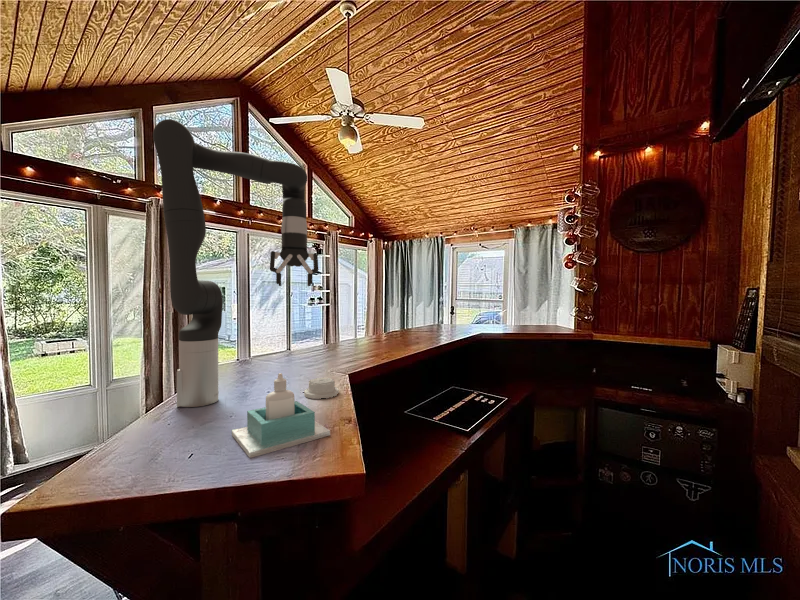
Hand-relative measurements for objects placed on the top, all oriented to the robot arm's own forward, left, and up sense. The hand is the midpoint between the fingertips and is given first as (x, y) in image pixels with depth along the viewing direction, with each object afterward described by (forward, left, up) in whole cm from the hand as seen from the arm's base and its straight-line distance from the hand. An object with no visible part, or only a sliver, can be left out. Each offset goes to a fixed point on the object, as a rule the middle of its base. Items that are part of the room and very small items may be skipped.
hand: (294, 286), depth 106 cm
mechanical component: (+7, -8, -33) cm, 34 cm away
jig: (-4, -35, -32) cm, 48 cm away
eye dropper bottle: (-4, -35, -31) cm, 47 cm away
